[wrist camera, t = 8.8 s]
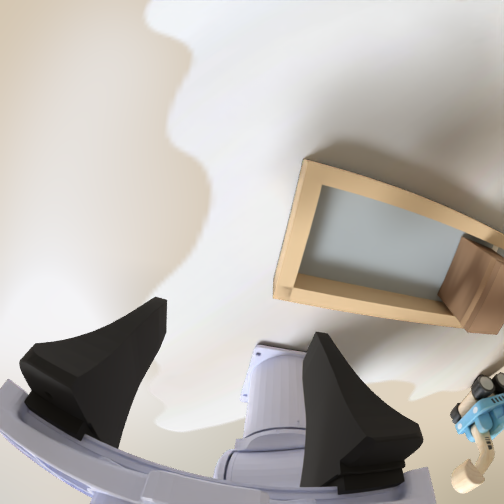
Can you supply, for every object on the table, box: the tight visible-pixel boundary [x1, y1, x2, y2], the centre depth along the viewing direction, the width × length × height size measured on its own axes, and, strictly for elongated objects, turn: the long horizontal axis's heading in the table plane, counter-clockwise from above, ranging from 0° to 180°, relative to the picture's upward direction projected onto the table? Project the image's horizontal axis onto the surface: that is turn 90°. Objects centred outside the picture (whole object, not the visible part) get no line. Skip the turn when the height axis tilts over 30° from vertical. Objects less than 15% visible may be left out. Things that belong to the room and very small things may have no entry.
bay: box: [273, 159, 504, 328], centre depth 19 cm, size 10×24×3 cm, turn 79°
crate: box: [437, 237, 504, 335], centre depth 17 cm, size 6×5×6 cm
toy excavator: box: [450, 372, 504, 493], centre depth 20 cm, size 9×17×17 cm, turn 82°
